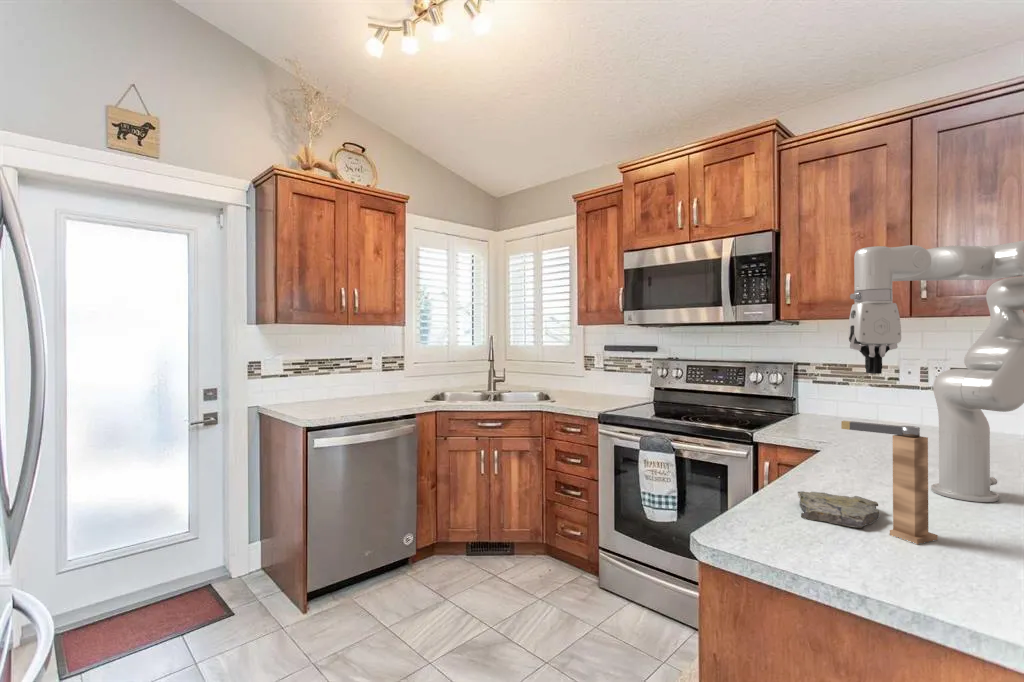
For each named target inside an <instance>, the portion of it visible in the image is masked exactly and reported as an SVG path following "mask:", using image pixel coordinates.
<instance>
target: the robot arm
mask: <svg viewBox="0 0 1024 682" xmlns="http://www.w3.org/2000/svg"><path fill="white" fill-rule="evenodd" d="M853 259H854V260H853V261H854V263H853V265H854V267H853V268H854V275H853V277H854V284H853V285H854V286H853V287H854V292H853V293H850V294H849V298H850V300H853V301H854V304H852V305H851V309H850V314H849V319H848V331H847V332H848V341H849V342H850V343H849V348H850V349H851V350H855V351H859V352H860V354H861V355H862V356H863V357H864V359H865V360H864V363H865V364H864V367H865V373H866V374H873V375H879V374H880V375H881V374H882V373H883V372H882V370H883V358H884V357H885V356H886V354H887V353H888V352H889V351H892V350H896V349H898V344H900V343H901V341H902V325H901V317H900V312H899V308H898V304H897V303H896V302H894V299H893V296H894V295H893V282H908V281H910V282H912V281H914V282H916V281H925V282H926V281H927V282H928V281H935V282H937V281H938V282H939V281H961V280H962V281H965V280H967V281H971V280H972V281H989V280H997V281H995V282H994V283H992V284H991V285H990V286H989V287H988V289H987V291H986V294H985V299H986V303H987V307H988V311H989V316H990V323H989V324H988V326H987V327H986V329H985V330H984V331H983V333H981V335H980V336H979V337H978V338H977V339H976V340H975V342H974V343H973V344H972V345H971V347H970V348H969V349H968V350H967V352H966V353H965V356H964V360H963V363H964V365H965V367H966V368H953V369H948V370H944V371H942V372H940V373H939V374H938V375H937V376H936V377H935V378H934V381H933V385H932V388H933V394H934V398H935V402H936V407H937V412H938V413H937V415H938V483H933V484H931V487H930V489H931V491H932V492H933V493H934V494H935V493H936V494H938V495H941V496H944V497H948V498H951V499H955V500H962V501H968V502H977V503H994V502H998V501H999V500H1000V495H999V494H998V493H997V492H995V491H992V490H991V487H992V486H996V485H997V484H998V480H997V478H995V477H994V476H991V449H990V448H991V432H990V429H991V428H990V424H989V420H988V419H987V417H986V415H985V413H984V412H983V411H982V410H984V411H992V412H998V413H999V412H1000V413H1002V412H1003V413H1004V412H1005V413H1007V412H1013V411H1015V410H1017V409H1019V408H1020V407H1022V406H1023V405H1024V240H1019V241H1014V242H1008V243H1003V244H997V245H947V246H946V245H945V246H940V247H939V246H938V247H933V248H924V247H923V246H920V245H913V244H909V245H903V246H902V245H901V246H891V247H889V246H882V245H881V246H880V245H879V246H877V245H876V246H868V247H862V248H860V249H858V250H856V251H855V253H854V258H853Z"/></svg>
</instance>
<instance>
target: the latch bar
mask: <svg viewBox="0 0 1024 682" xmlns="http://www.w3.org/2000/svg"><path fill="white" fill-rule="evenodd" d="M840 424H841V425H840V426H841V428H840V429H841V430H850V431H856V432H857V431H859V432H865V433H866V432H867V433H878V434H886V435H887V434H888V435H901V436H905V437H920V434H921V432H920V430H921V428H920V427H919V426H914V425H896V424H886V423H885V424H884V423H873V422H864V421H863V422H862V421H855V420H854V421H853V420H841V423H840Z"/></svg>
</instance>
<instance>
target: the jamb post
mask: <svg viewBox="0 0 1024 682" xmlns="http://www.w3.org/2000/svg"><path fill="white" fill-rule="evenodd" d="M891 535H893V536H892V537H894V536H896V537H895V538H897V537H899V538H898V539H900V538H902V539H901V540H903V539H905V540H908V541H911V542H914V543H916V544H915V545H920V544H919V543H922V544H925V543H924V542H927V543H930V542H929V541H931V542H934V541H933V540H936V541H938V537H939V536H938V534H935V533H933V532H929V437H927V436H920V437H905V436H901V435H894V434H892V529H889V536H891ZM905 540H904V541H905ZM908 541H907V542H908ZM911 542H910V543H911ZM914 543H913V544H914Z"/></svg>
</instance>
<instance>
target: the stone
mask: <svg viewBox="0 0 1024 682" xmlns="http://www.w3.org/2000/svg"><path fill="white" fill-rule="evenodd" d="M797 497H798V498H799V507H800V509H801V511H802V513H801V514H800V517H801V518H802V519H805V518H806V520H809V519H810V521H814V522H815V521H816V522H827V523H830V524H835V525H838V526H845V527H850V528H864V526H867V525H870V524H874V522H876V521H878V520H879V518H880V510H879V509H878V508H877V507H879V503H878V502H877V501H874V500H872V499H871V500H870V499H867V498H865V497H861V496H858V495H854V496H848V495H839V494H833V493H832V494H830V493H827V492H817V491H804V490H803V491H797ZM803 512H804V513H803Z"/></svg>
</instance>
